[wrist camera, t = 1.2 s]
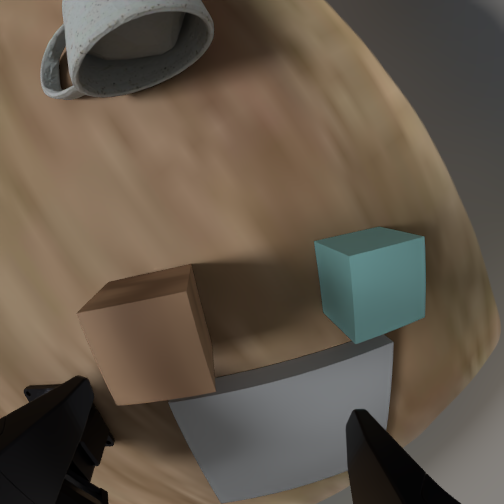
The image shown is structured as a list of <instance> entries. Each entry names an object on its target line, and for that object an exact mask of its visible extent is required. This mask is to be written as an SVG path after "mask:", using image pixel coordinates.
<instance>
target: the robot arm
mask: <svg viewBox="0 0 504 504" xmlns="http://www.w3.org/2000/svg"><path fill="white" fill-rule="evenodd" d="M24 394H25V396H26V397H27V399H28V401H29V403H28V404H26V405H24V406H22V407H20V408H19V409H17V410H15V411H13V412H11V413H10V414H8V415H7V416H4V417H2V418H0V504H108V492H107V491H105V490H104V489H102V488H98V487H97V486H95V485H94V484H92V483H90V481H91V478H92V474H93V471H94V467H95V466H99V464H100V461H101V458H102V454H103V451H104V448H105V446H113V445H114V442H115V440H114V438H113V436H112V435H111V433H110V432H109V429H108V427H107V426H106V424H105V422H104V421H103V419H102V417H101V416H100V414H99V412H98V410H97V409H96V408H95V406H94V404H93V400H94V393H93V390H92V387H91V385H90V382H89V380H88V379H87V378H86V377H82V376H75V377H73V378H72V379H70V380H68V381H66V382H65V383H63V384H61V385H55V386H28V387H26V388H25V389H24ZM346 446H347V467H348V474H349V480H350V486H351V493H352V499H353V504H461V503H460V502H458V501H457V500H456V499H454V498H453V497H452V496H451V495H449V494H448V493H447V492H446V491H444V490H443V489H442V488H441V487H440V486H439V485H438V484H437V483H436V482H435V481H434V480H433V479H432V478H431V477H430V476H429V475H428V474H426V472H425V471H424V470H423V469H422V468H421V467H420V466H419V465H418V464H417V463H416V462H415V461H414V460H413V459H412V458H411V457H410V456H409V454H407V452H406V451H405V450H404V449H403V448H402V447H401V446H400V445H399V444H398V443H397V442H396V441H395V440H394V439H393V438H392V437H391V436H390V434H389V433H388V432H387V431H386V430H385V429H384V428H383V427H382V426H381V425H380V424H379V423H378V422H377V421H376V420H375V418H374V417H373V416H372V415H371V414H370V413H369V412H368V411H367V410H366V409H354V410H353V411H352V413H351V415H350V417H349V419H348V421H347V424H346Z"/></svg>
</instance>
